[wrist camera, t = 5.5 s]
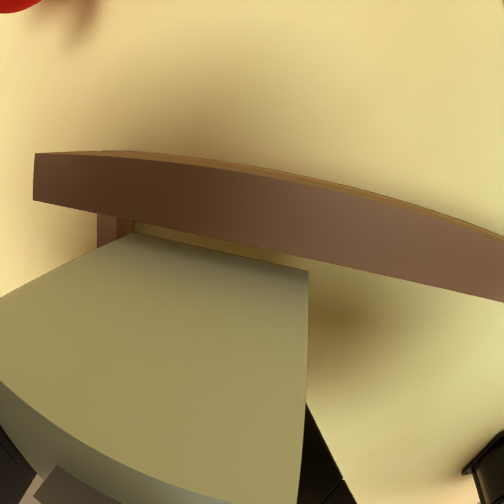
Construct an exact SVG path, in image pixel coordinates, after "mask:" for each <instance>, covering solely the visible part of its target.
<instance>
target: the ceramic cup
mask: <svg viewBox="0 0 504 504" xmlns="http://www.w3.org/2000/svg"><path fill="white" fill-rule="evenodd" d="M40 1H41V0H0V13H15V12H18V11H22V10H24V9H27V8H29V7H31V6H33V5H35V4H37V3H38V2H40Z"/></svg>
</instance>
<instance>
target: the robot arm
mask: <svg viewBox="0 0 504 504" xmlns="http://www.w3.org/2000/svg"><path fill="white" fill-rule="evenodd" d="M461 473H462V476H463V475H468V474H472V475H473V478H474V481H475V485H476V488H477V492H478V495H479V499H480V503H481V504H504V432H502V433H500V434H498V435H497V436H496V437H495V438H494V440H493V441H492V442H491V443H490V444H489V445H488V446H487V447H486V448H485V449H484V450H483V451H482V452H481V453H480V454H479V455H478V456H477V457H476V458H475V459H474V460H473V461H472V462H471V463H470V464H469V465H468V466H467V467H466V468H465V469H464V470H463V471H462V472H461ZM36 475H37V472H36V471H35V470H34V469H33V468H32V466H31V465H30V464H29V463H28V462H27V460H26V459H25V458H24V457H23V455H22V454H21V453H20V452H19V450H18V449H17V448H16V446H15V445H14V444H13V442H12V441H11V440H10V438H9V437H8V435H7V434H6V432H5V431H4V430H3V428H2V427H1V425H0V504H19V502H20V501H21V499H22V497H23V496H24V494H25V492H26V491H27V489H28V488H29V486H30V484H31V483H32V481H33V479H34V478H35V476H36ZM342 479H343V476H342V474H341V472H340V470H339V468H338V466H337V464H336V462H335V460H334V458H333V456H332V454H331V452H330V450H329V448H328V446H327V444H326V442H325V440H324V438H323V436H322V434H321V432H320V430H319V428H318V426H317V424H316V422H315V420H314V418H313V416H312V414H311V412H310V410H309V408H308V406H307V404H306V403H305V419H304V433H303V446H302V457H301V468H300V478H299V487H298V495H297V503H296V504H357V502H356V501H355V499H354V497H353V495H352V493H351V492H350V490H349V488H348V486H347V484H346V482H345V480H342Z"/></svg>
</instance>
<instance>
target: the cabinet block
mask: <svg viewBox="0 0 504 504" xmlns="http://www.w3.org/2000/svg"><path fill="white" fill-rule="evenodd" d="M307 357H308V271H305V270H301V269H296V268H292V267H287V266H283V265H278V264H274V263H269V262H265V261H260V260H255V259H251V258H246V257H242V256H237V255H233V254H229V253H224V252H220V251H215V250H211V249H206V248H202V247H197V246H193V245H188V244H184V243H180V242H175V241H171V240H166V239H162V238H158V237H153V236H149V235H145V234H140V233H136V232H133V233H131V234H129V235H126V236H124V237H122V238H119V239H117V240H115V241H113V242H110V243H108V244H106V245H104V246H102V247H99V248H97V249H95V250H93V251H91V252H89V253H87V254H84V255H82V256H80V257H78V258H76V259H74V260H72V261H70V262H68V263H66V264H64V265H62V266H60V267H58V268H56V269H54V270H52V271H50V272H48V273H46V274H44V275H42V276H40V277H38V278H36V279H34V280H32V281H30V282H28V283H27V284H25V285H23V286H21V287H19V288H17V289H15V290H14V291H12V292H10V293H8V294H6V295H5V296H3V297H1V298H0V425H1V427H2V428H3V430H4V431H5V432H6V434H7V435H8V437H9V438H10V440H11V441H12V442H13V444H14V445H15V446H16V448H17V449H18V450H19V452H20V453H21V454H22V455H23V457H24V458H25V459H26V460H27V462H28V463H29V464H30V465H31V466H32V468H33V469H34V470H35V471H36V472H37V473H38V474H39V476H40V477H41V478H42V479H43V480H44V482H43V484H42V485H41V486H40V488H39V489H38V490H37V492H36V493H35V494H34V495H33V496H34V498H36V499H37V500H38V501H39V502H40V503H42V504H296V503H297V495H298V487H299V478H300V468H301V457H302V446H303V433H304V419H305V403H306V383H307Z"/></svg>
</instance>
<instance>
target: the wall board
mask: <svg viewBox="0 0 504 504" xmlns="http://www.w3.org/2000/svg"><path fill="white" fill-rule="evenodd" d="M33 200H35V201H40V202H44V203H49V204H54V205H59V206H64V207H69V208H74V209H79V210H84V211H88V212H93V213H97V248H99V247H102V246H104V245H106V244H108V243H110V242H113V241H115V240H117V239H119V238H122V237H124V236H126V235H129V234H131V233H133V230H134V221H136V222H141V223H146V224H151V225H155V226H160V227H165V228H170V229H174V230H179V231H184V232H188V233H193V234H198V235H203V236H207V237H212V238H217V239H221V240H226V241H231V242H235V243H240V244H244V245H249V246H254V247H258V248H263V249H268V250H272V251H277V252H281V253H286V254H290V255H295V256H300V257H304V258H309V259H313V260H318V261H322V262H327V263H331V264H336V265H341V266H345V267H350V268H354V269H359V270H363V271H368V272H372V273H377V274H381V275H385V276H390V277H394V278H399V279H403V280H408V281H412V282H417V283H421V284H425V285H430V286H434V287H439V288H443V289H447V290H452V291H456V292H460V293H465V294H469V295H474V296H478V297H482V298H487V299H491V300H495V301H499V302H504V237H503V236H501V235H498V234H496V233H493V232H491V231H488V230H486V229H483V228H481V227H478V226H475V225H473V224H470V223H467V222H465V221H462V220H459V219H456V218H453V217H451V216H448V215H445V214H442V213H439V212H436V211H433V210H430V209H427V208H423V207H420V206H417V205H414V204H411V203H407V202H404V201H401V200H397V199H394V198H390V197H387V196H383V195H380V194H376V193H372V192H368V191H365V190H361V189H357V188H353V187H349V186H345V185H341V184H337V183H332V182H328V181H324V180H319V179H315V178H310V177H306V176H301V175H296V174H291V173H286V172H281V171H276V170H270V169H265V168H259V167H254V166H248V165H242V164H235V163H229V162H222V161H215V160H208V159H201V158H193V157H184V156H176V155H166V154H156V153H145V152H133V151H76V152H52V153H36V154H35V160H34V177H33Z"/></svg>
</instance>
